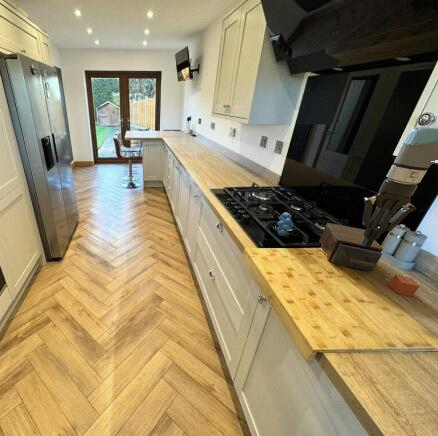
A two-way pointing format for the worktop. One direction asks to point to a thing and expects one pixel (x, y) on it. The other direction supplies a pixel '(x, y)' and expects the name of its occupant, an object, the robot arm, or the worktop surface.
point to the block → (403, 285)
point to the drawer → (356, 256)
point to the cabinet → (342, 238)
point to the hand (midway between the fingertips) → (365, 245)
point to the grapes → (284, 224)
